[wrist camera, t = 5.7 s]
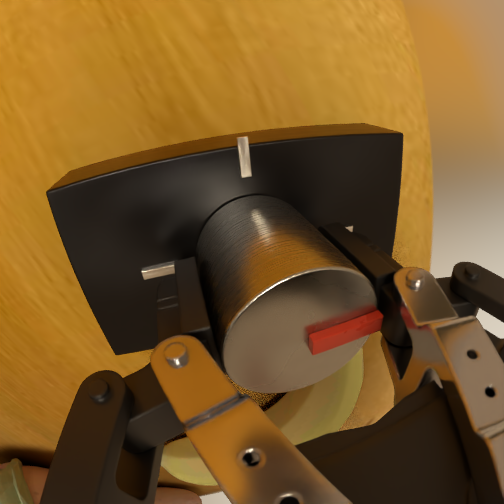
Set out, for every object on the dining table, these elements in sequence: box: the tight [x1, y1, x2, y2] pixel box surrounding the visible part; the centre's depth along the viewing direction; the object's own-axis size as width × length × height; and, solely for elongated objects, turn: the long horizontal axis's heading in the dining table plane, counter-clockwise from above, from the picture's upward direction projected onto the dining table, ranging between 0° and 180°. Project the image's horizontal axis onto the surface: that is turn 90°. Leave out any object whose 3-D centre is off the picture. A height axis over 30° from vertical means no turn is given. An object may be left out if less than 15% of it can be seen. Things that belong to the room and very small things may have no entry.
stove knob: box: [196, 195, 384, 393], centre depth 9 cm, size 4×4×5 cm
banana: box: [161, 348, 364, 486], centre depth 20 cm, size 14×6×20 cm
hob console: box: [46, 123, 403, 355], centre depth 13 cm, size 14×9×3 cm, turn 95°
